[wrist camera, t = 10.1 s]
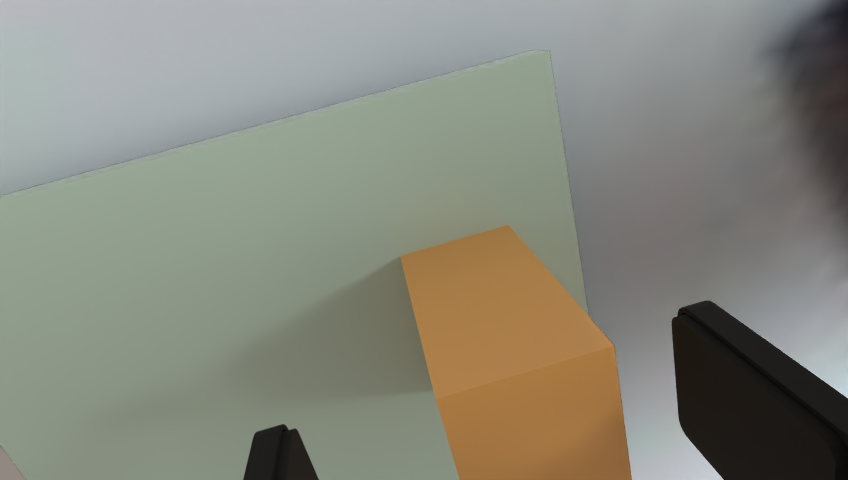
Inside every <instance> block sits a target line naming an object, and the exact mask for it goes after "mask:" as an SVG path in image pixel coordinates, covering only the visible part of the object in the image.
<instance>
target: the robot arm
mask: <svg viewBox="0 0 848 480" xmlns="http://www.w3.org/2000/svg"><path fill="white" fill-rule="evenodd" d="M672 336H673V349H674V362H675V376H676V389H677V402H678V415H679V422H680V425H681V427H682V429H683V431H684V433H685V435H686V436H687V437H688V439H689V440H690V441H691V442H692V443H693V444H694V446H695V447H696V448H697V449H698V450H699V451H700V453H701V454H702V455H703V456H704V457H705V458H706V459H707V461H708V462H709V463H710V464H711V465H712V466H713V468H714V469H715V470H716V471H717V472H718V473H719V475H720V476H721V477H722V478H723V479H724V480H848V398H846V397H845V396H844V395H842V394H841V393H839V392H838V391H837V390H835V389H834V388H832V387H831V386H830V385H828V384H827V383H825V382H824V381H823V380H821V379H820V378H818V377H817V376H815V375H814V374H813V373H811V372H810V371H808V370H807V369H806V368H804V367H803V366H801V365H800V364H799V363H797V362H796V361H794V360H793V359H792V358H790V357H789V356H787V355H786V354H785V353H783V352H782V351H780V350H779V349H778V348H776V347H775V346H773V345H772V344H771V343H769V342H768V341H766V340H765V339H764V338H762V337H761V336H759V335H758V334H757V333H755V332H754V331H752V330H751V329H750V328H748V327H747V326H745V325H744V324H743V323H741V322H740V321H738V320H737V319H736V318H734V317H733V316H731V315H730V314H729V313H727V312H726V311H724V310H723V309H722V308H720V307H719V306H717V305H716V304H715V303H713V302H711V301H703V302H699V303H696V304H692V305H689V306H686V307H682V308H680V309H679V311H678V316H677V317H674V318H673V319H672ZM243 480H319V479H318V476H317V474H316V472H315V469H314V467H313V465H312V462H311V460H310V458H309V455H308V453H307V451H306V448H305V446H304V444H303V441H302V439H301V437H300V434H299V432H298V430H297V429H295V428H294V429H291V430H288V428H287V426H286V425H285V424H281V425H278V426H274V427H271V428H267V429H264V430H261V431H257V432H256V433H255V434H254V436H253V440H252V444H251V449H250V453H249V457H248V461H247V465H246V470H245V474H244V478H243Z"/></svg>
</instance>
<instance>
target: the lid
mask: <svg viewBox="0 0 848 480" xmlns="http://www.w3.org/2000/svg"><path fill="white" fill-rule="evenodd" d="M281 424H285V425H286V426H287V428H288V430H291V429H294V428H295V429H297V430H298V432H299V434H300V437H301V439H302V441H303V444H304V446H305V448H306V451H307V453H308V455H309V458H310V460H311V462H312V465H313V467H314V469H315V472H316V474H317V476H318V479H319V480H632V478H631V470H630V462H629V454H628V447H627V439H626V431H625V424H624V416H623V408H622V401H621V393H620V385H619V378H618V370H617V362H616V354H615V347H614V345H613V344H612V342H611V341H610V340H609V339H608V338H607V337H606V336H605V334H604V333H603V332H602V331H601V330H600V329H599V328H598V326H597V325H596V324H595V323H594V322H593V321H592V320H591V319H590V317H589V313H588V307H587V300H586V293H585V286H584V280H583V273H582V266H581V259H580V253H579V246H578V239H577V232H576V226H575V219H574V212H573V205H572V199H571V192H570V185H569V178H568V172H567V165H566V158H565V151H564V145H563V138H562V131H561V124H560V118H559V111H558V104H557V97H556V91H555V84H554V77H553V70H552V64H551V57H550V51H544V50H531V51H527V52H524V53H520V54H516V55H513V56H509V57H505V58H502V59H498V60H495V61H491V62H487V63H484V64H480V65H476V66H473V67H469V68H465V69H462V70H458V71H454V72H451V73H447V74H443V75H440V76H436V77H432V78H429V79H425V80H421V81H418V82H414V83H411V84H407V85H403V86H400V87H396V88H392V89H389V90H385V91H381V92H378V93H374V94H370V95H367V96H363V97H359V98H356V99H352V100H348V101H345V102H341V103H338V104H334V105H330V106H327V107H323V108H319V109H316V110H312V111H308V112H305V113H301V114H297V115H294V116H290V117H286V118H283V119H279V120H275V121H272V122H268V123H265V124H261V125H257V126H254V127H250V128H246V129H243V130H239V131H235V132H232V133H228V134H224V135H221V136H217V137H213V138H210V139H206V140H202V141H199V142H195V143H192V144H188V145H184V146H181V147H177V148H173V149H170V150H166V151H162V152H159V153H155V154H151V155H148V156H144V157H140V158H137V159H133V160H129V161H126V162H122V163H118V164H115V165H111V166H108V167H104V168H100V169H97V170H93V171H89V172H86V173H82V174H78V175H75V176H71V177H67V178H64V179H60V180H56V181H53V182H49V183H45V184H42V185H38V186H35V187H31V188H27V189H24V190H20V191H16V192H13V193H9V194H5V195H2V196H0V445H1V447H2V448H3V450H4V451H5V452H6V454H7V455H8V456H9V458H10V459H11V461H12V462H13V463H14V465H15V466H16V467H17V469H18V470H19V472H20V473H21V475H22V476H23V477H24V479H25V480H243V478H244V474H245V470H246V465H247V461H248V457H249V453H250V449H251V444H252V440H253V436H254V434H255V433H256V432H257V431H261V430H264V429H267V428H271V427H274V426H278V425H281Z"/></svg>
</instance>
